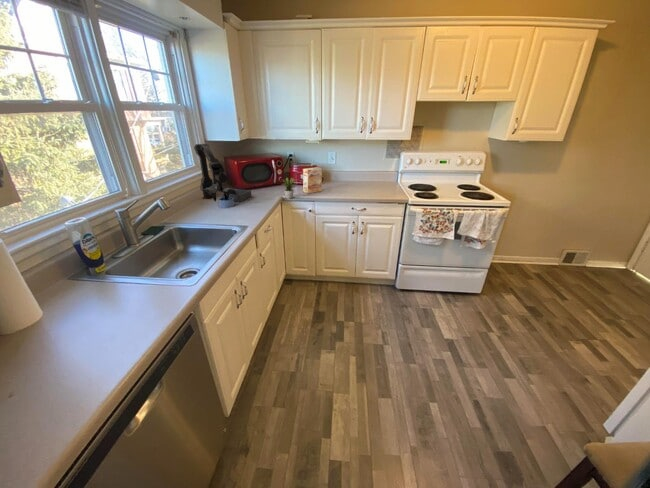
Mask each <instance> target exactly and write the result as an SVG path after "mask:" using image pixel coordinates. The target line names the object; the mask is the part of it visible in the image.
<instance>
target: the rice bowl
mask: <svg viewBox="0 0 650 488" xmlns="http://www.w3.org/2000/svg"><path fill="white" fill-rule="evenodd" d="M218 205H219V208H224V209H226V208H232V207H234V206H235V201H234V199H233V198H232V197H229V198H228V200H226V201H225V197H222V196H221V197H219V198H218Z"/></svg>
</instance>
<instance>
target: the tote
mask: <svg viewBox="0 0 650 488" xmlns="http://www.w3.org/2000/svg"><path fill="white" fill-rule="evenodd" d="M231 189H232V190H233V192H232V193H231V194H230V195H229V197H232V198H233V199H234V202H238V203H241V202H244V201H246V200H247V199H250V198H252V191H251V190H248V189H237V188H231ZM223 194H224V193H223V192H222V193H221V198H222V197H225V196H224V195H223Z"/></svg>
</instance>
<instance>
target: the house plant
mask: <svg viewBox="0 0 650 488" xmlns="http://www.w3.org/2000/svg"><path fill="white" fill-rule="evenodd" d="M282 182H283V184H282V186H283V187H284V194H285V195H284V196H285V198H286V199H287V200H289V199H293V198H294V189H295V188H296V186H297V185H298V181H297V179H296V180H295V178H293V177H291V178H290V179H289V178H288V177H286V178H285V179H282ZM293 188H294V189H293Z"/></svg>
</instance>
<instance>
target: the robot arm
mask: <svg viewBox="0 0 650 488" xmlns="http://www.w3.org/2000/svg"><path fill="white" fill-rule="evenodd" d="M193 150H194V151H195V154H196V155H197V156H198V159H199V166H200V170H201V179H200V185H199V189H200V191H201V192H202V195H203V197H202V199H206V200H207V199H208V200H210V199H213V201H214V202H217V193H218V192H219V193H220V192H222V193H224V194H223V195H224V196H225V201H226V200H228V198H229V195H230V194H231V193H232V192H233V190H232V189H233V188H231V187H226V188H225V186H224V185H223V184H225V183H226V182H227V181H228V176H227V175H226V174H225V173H224V172H225V168H224V166H223V164H222V163H221V161H220V160H219V159H218V158H216V156H215V155H214V154H213V152H212V150H211V148H210V145H209V144H207V143H196V144H194V146H193ZM207 161H208V162H207ZM209 170H210V171H211V175H212V177H210V174H209Z"/></svg>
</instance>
